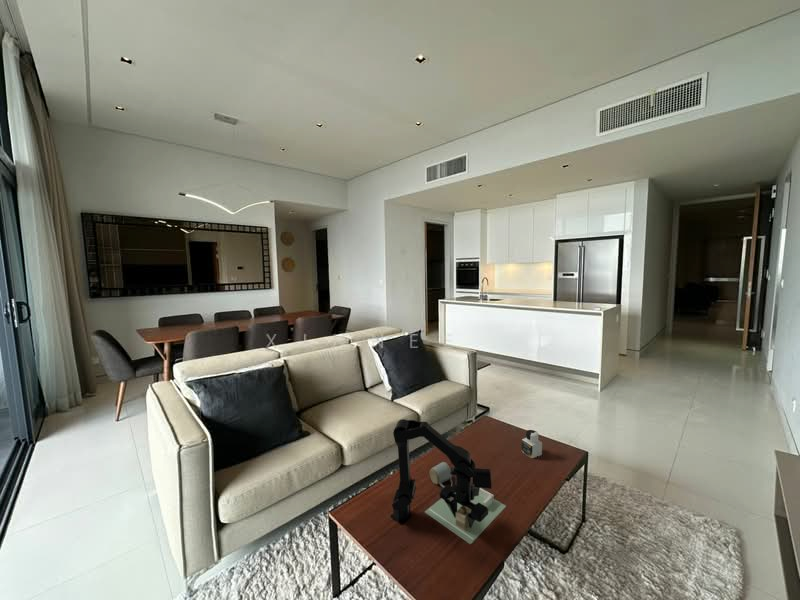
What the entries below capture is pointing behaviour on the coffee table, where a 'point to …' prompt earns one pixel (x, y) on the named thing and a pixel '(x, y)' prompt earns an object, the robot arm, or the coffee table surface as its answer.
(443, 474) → the ceramic mug
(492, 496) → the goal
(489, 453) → the coffee table surface
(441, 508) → the pitch mat
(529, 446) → the medicine bottle
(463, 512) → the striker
